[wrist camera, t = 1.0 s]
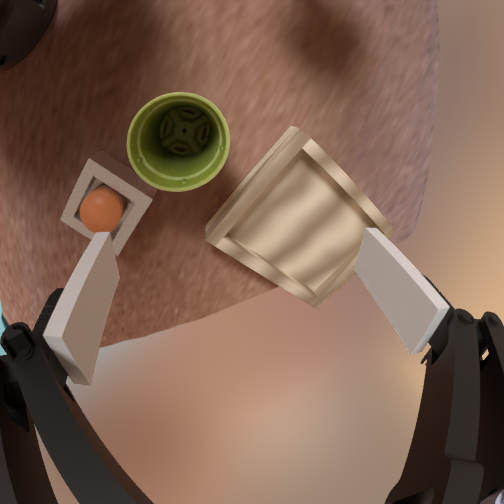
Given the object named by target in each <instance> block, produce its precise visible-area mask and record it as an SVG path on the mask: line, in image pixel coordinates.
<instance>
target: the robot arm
mask: <svg viewBox="0 0 504 504" xmlns="http://www.w3.org/2000/svg"><path fill="white" fill-rule="evenodd" d="M56 1H57V0H0V71H3V70H6V69H8V68H11V67H12V66H14V65H16V64H17V63H18V62H20V61H21V60H22V59H23V58H24V57H25V56H26V55H27V54H28V53H29V52H30V51H31V50H32V49H33V48H34V47H35V45H36V44H37V43H38V41H39V40H40V38H41V37H42V35H43V34H44V32H45V30H46V29H47V27H48V25H49V23H50V21H51V18H52V16H53V13H54V10H55V6H56ZM354 271H355V272H356V274H357V275H358V276H359V278H360V279H361V280H362V282H363V284H364V285H365V286H366V288H367V289H368V291H369V292H370V294H371V295H372V297H373V298H374V299H375V301H376V302H377V304H378V305H379V307H380V308H381V310H382V311H383V313H384V314H385V316H386V317H387V319H388V320H389V322H390V323H391V325H392V326H393V328H394V330H395V331H396V333H397V334H398V336H399V337H400V339H401V341H402V342H403V344H404V345H405V347H406V349H407V350H408V352H409V354H410V355H412V354H415V353H418V352H421V351H422V350H423V349H424V348H425V346H426V345H427V343H429V344H430V346H431V348H430V349H429V351H428V352H427V354H426V355H425V356H424V358H423V359H422V361H421V364H423V363H424V361H425V360H426V359H427V363H426V364H425V365H426V374H425V380H424V386H423V393H422V398H421V403H420V409H419V413H418V418H417V422H416V427H415V431H414V435H413V439H412V442H411V446H410V450H409V453H408V457H407V460H406V463H405V466H404V469H403V472H402V476H401V478H400V480H399V482H398V483H397V484H396V485H395V486H394V487H393V489H392V490H391V492H390V493H389V495H388V497H387V499H386V501H385V504H504V326H503V324H502V322H501V320H500V318H498V316H497V315H496V314H495V313H492V312H485V313H484V315H483V316H482V318H481V319H474V318H473V316H472V315H471V314H470V313H468V312H467V311H465V310H463V309H456V310H455V309H454V308H453V306H452V305H451V304H450V303H449V302H448V301H447V300H446V298H445V297H444V296H443V295H442V294H441V292H439V291H438V289H437V288H436V287H435V286H434V284H433V283H432V282H431V281H430V280H429V279H428V278H427V277H425V276H424V275H423V274H421V273H420V272H419V271H418V270H417V269H416V268H415V267H414V266H413V265H412V263H411V262H410V261H408V259H407V258H406V257H405V256H404V255H403V254H402V253H401V252H400V251H399V250H398V249H397V248H396V247H395V246H394V245H393V244H392V243H391V242H390V241H389V240H388V239H387V238H386V237H385V236H384V235H383V234H382V233H381V232H380V231H379V230H378V229H377V228H365V232H364V235H363V239H362V242H361V246H360V249H359V253H358V256H357V259H356V263H355V266H354ZM119 279H120V276H119V271H118V267H117V263H116V258H115V253H114V249H113V244H112V239H111V233H110V232H96V234H95V235H94V237H93V238H92V240H91V242H90V243H89V245H88V247H87V248H86V250H85V252H84V254H83V255H82V257H81V259H80V261H79V262H78V264H77V266H76V268H75V270H74V271H73V273H72V275H71V277H70V279H69V281H68V283H67V285H66V287H65V288H57V289H56V290H55V291H54V292H53V293H52V294H51V295H50V296H49V298H48V300H47V302H46V304H45V307H44V308H43V310H42V312H41V314H40V316H39V318H38V320H37V322H36V324H35V326H34V329H33V331H32V332H31V330H30V328H29V327H28V325H27V324H25V323H23V322H17V323H14V324H11V325H10V326H9V327H7V328H6V329H5V331H4V332H3V333H2V336H1V339H0V344H1V346H2V347H3V349H4V350H5V352H6V353H7V355H2V356H0V504H58V502H57V500H56V497H55V495H54V492H53V489H52V487H51V484H50V481H49V478H48V475H47V472H46V469H45V465H44V462H43V459H42V455H41V452H40V448H39V444H38V439H37V435H36V431H35V427H34V424H35V426H36V428H37V431H38V433H39V435H40V437H41V439H42V441H43V443H44V445H45V447H46V449H47V451H48V453H49V455H50V457H51V459H52V460H53V462H54V464H55V466H56V468H57V469H58V471H59V473H60V474H61V476H62V478H63V479H64V481H65V482H66V484H67V486H68V487H69V489H70V490H71V492H72V493H73V495H74V496H75V498H76V499H77V501H78V502H79V503H80V504H154V503H153V502H152V501H151V500H150V499H149V498H148V497H147V496H146V495H145V494H144V493H143V492H142V491H141V489H140V488H139V487H138V486H137V485H136V484H135V483H134V482H133V480H132V479H131V478H130V477H129V476H128V475H127V473H126V472H125V471H124V470H123V469H122V467H121V466H120V465H119V464H118V463H117V461H116V460H115V458H114V457H113V456H112V455H111V453H110V452H109V450H108V449H107V448H106V446H105V445H104V444H103V442H102V441H101V439H100V438H99V437H98V435H97V433H96V432H95V431H94V429H93V427H92V426H91V425H90V423H89V421H88V420H87V418H86V417H85V415H84V413H83V412H82V410H81V408H80V407H79V405H78V403H77V402H76V400H75V398H74V396H73V395H72V393H71V391H70V389H69V387H68V386H67V385H66V380H67V376H69V377H70V379H71V380H72V382H73V383H75V384H83V385H91V381H92V377H93V372H94V367H95V363H96V359H97V355H98V351H99V347H100V343H101V339H102V335H103V332H104V328H105V324H106V321H107V317H108V314H109V311H110V307H111V304H112V301H113V298H114V294H115V291H116V288H117V285H118V282H119ZM487 349H488V352H489V354H488V356H487V357H486V358H485V359H484V360H483V359H482V355H483V354H484V353H485V351H486V350H487Z"/></svg>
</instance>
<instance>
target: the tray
mask: <svg viewBox="0 0 504 504" xmlns="http://www.w3.org/2000/svg"><path fill="white" fill-rule="evenodd" d="M365 228H377V229H378V230H379V231H380V232H381V233H382V234H383V235H384V236H385V237H386V238H387V239H388V240H389V239H390V238H391V237H392V236H393V235H394V234H395V233H396V231H395V230H394V229H393V227H392V226H391V225H390V224H389V222H388V221H387V220H386V219H385V218H384V216H383V215H382V214H381V213H380V212H379V210H378V209H377V208H376V207H375V206H374V205H373V203H372V202H371V201H370V200H369V199H368V198H367V196H366V195H365V194H364V193H363V192H362V191H361V190H360V189H359V187H358V186H357V185H356V184H355V183H354V182H353V181H352V180H351V179H350V178H349V177H348V175H347V174H346V173H345V172H344V171H343V170H342V169H341V168H340V167H339V166H338V165H337V164H336V163H335V162H334V161H333V160H332V159H331V158H330V157H329V156H328V155H327V154H326V153H325V152H324V151H323V150H322V149H321V148H320V147H319V146H318V145H317V144H316V143H315V142H314V141H313V140H312V139H311V138H310V137H309V136H308V135H307V134H306V133H305V132H303V131H302V130H301V129H299V128H296V127H294V126H290V127H289V129H288V130H287V131H286V132H285V133H284V134H283V135H282V136H281V137H280V138H279V140H278V141H277V142H276V143H275V144H274V145H273V146H272V147H271V148H270V150H269V151H268V152H267V153H266V154H265V155H264V156H263V158H262V159H261V160H260V161H259V162H258V163H257V164H256V166H255V167H254V168H253V169H252V170H251V171H250V172H249V174H248V175H247V176H246V177H245V178H244V179H243V181H242V182H241V183H240V184H239V185H238V187H237V188H236V189H235V190H234V191H233V192H232V194H231V195H230V196H229V197H228V198H227V200H226V201H225V202H224V203H223V205H222V206H221V207H220V208H219V209H218V211H217V212H216V213H215V214H214V215H213V217H212V218H211V219H210V220H209V222H208V223H207V224H206V225H205V240H206V241H207V242H209V243H210V244H212V245H214V246H215V247H217V248H218V249H220V250H222V251H223V252H225V253H226V254H228V255H230V256H231V257H233V258H234V259H236V260H238V261H239V262H241V263H242V264H244V265H246V266H247V267H249V268H251V269H252V270H254V271H255V272H257V273H259V274H260V275H262V276H264V277H265V278H267V279H268V280H270V281H272V282H273V283H275V284H277V285H278V286H280V287H282V288H283V289H285V290H287V291H288V292H290V293H291V294H293V295H295V296H296V297H298V298H300V299H301V300H303V301H305V302H306V303H308V304H310V305H311V306H313V307H315V308H316V309H318V308H319V307H320V306H321V305H322V304H324V303H325V302H326V301H327V300H328V299H329V298H330V297H331V296H332V295H333V294H335V293H336V292H337V291H338V290H339V289H340V288H341V287H342V286H343V285H344V284H345V283H346V282H347V281H348V280H349V279H350V278H352V277H353V276H354V275H355V274H356V272H355V271H354V266H355V263H356V259H357V256H358V253H359V249H360V246H361V242H362V239H363V235H364V232H365Z"/></svg>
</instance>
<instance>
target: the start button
mask: <svg viewBox="0 0 504 504" xmlns="http://www.w3.org/2000/svg"><path fill="white" fill-rule="evenodd" d="M125 209H126V202H125V198H124V196H123V195H122V194H121V193H119V192H117V191H116V190H114V189H113V188H111V187H110V186H108V185H101V186H98V187H97V188H95V189H94V190H93V191H92V192H91V193H90V194H89V195H88V196H87V197H86V198H85V199H84V200H83V202H82V204H81V207H80V217H81V220H82V222H83V224H84V225H85V227H86V228H87V229H89V230H90V231H91V232H93V233H96V232H112V231H113V230H114V229H115V228H116V226H117V225H118V223H119V221H120V220H121V218H122V216H123V215H124V213H125Z"/></svg>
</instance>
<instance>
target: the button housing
mask: <svg viewBox="0 0 504 504" xmlns="http://www.w3.org/2000/svg"><path fill="white" fill-rule="evenodd" d="M101 185H108V186H110V187H111V188H113V189H114V190H116V191H117V192H119V193H121V194H122V195H123V196H124V198H125V202H126V209H125V213H124V215H123V216H122V218H121V220H120V221H119V223H118V225H117V226H116V228H115V229H114V230H113V231H112V232H110V233H111V239H112V244H113V249H114V253H115V255H117V256H118V255H119V253H120V252H121V250H122V248H123V247H124V245H125V243H126V242H127V240H128V238H129V237H130V235H131V233H132V232H133V230H134V228H135V227H136V225H137V224H138V222H139V220H140V219H141V217H142V216H143V214H144V213H145V211H146V210H147V208H148V207H149V205H150V203H151V202H152V200H153V199H154V197H155V194H156V192H157V190H158V188H155V187H153V186H151V185H149V184H148V183H146V182H145V181H144V180H142V179H141V178H140V177H139V176H138V174H137V173H136V172H135V171H134V170H133V169H131V168H130V167H128V166H127V165H125V164H124V163H122V162H121V161H119V160H117V159H116V158H114V157H113V156H111V155H110V154H108V153H107V152H105V151H104V150H101V151H99V152H97V153H96V154H94V155H93V156H91V157H90V158H89V159H88V161H87V162H86V164H85V166H84V168H83V170H82V172H81V174H80V176H79V178H78V181H77V183H76V185H75V187H74V189H73V191H72V193H71V196H70V198H69V200H68V203H67V205H66V207H65V210H64V212H63V214H62V217H61V219H60V220H61V221H62V222H64V223H65V224H67V225H69V226H70V227H72V228H73V229H75V230H76V231H78V232H79V233H81V234H83V235H84V236H86V237H87V238H89V239H90V240H92V238H93V237H94V235H95V234H96V233H93V232H91V231H90V230H89V229H87V228H86V227H85V225H84V224H83V222H82V220H81V217H80V207H81V204H82V202H83V200H84V199H85V198H86V197H87V196H88V195H89V194H90V193H91V192H92V191H93V190H94V189H95V188H97V187H98V186H101Z"/></svg>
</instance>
